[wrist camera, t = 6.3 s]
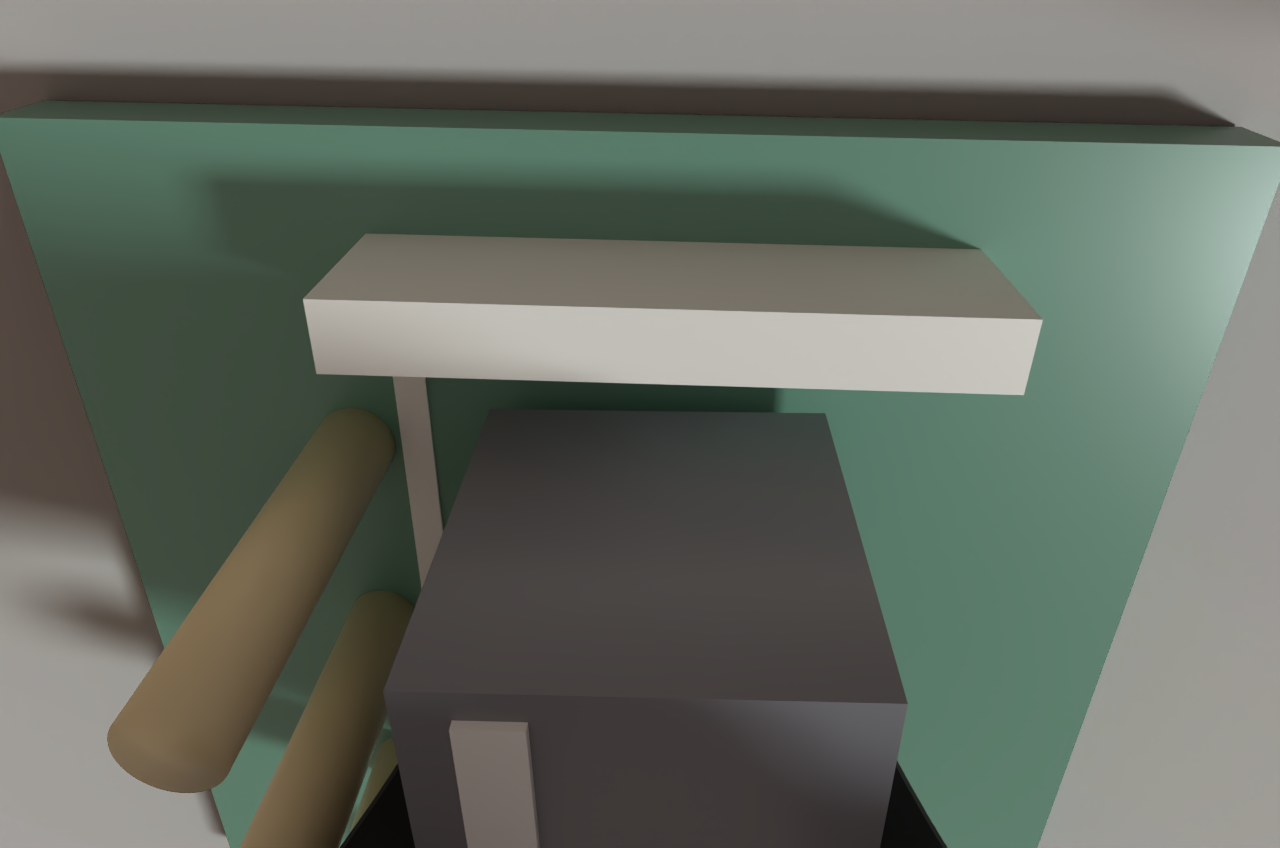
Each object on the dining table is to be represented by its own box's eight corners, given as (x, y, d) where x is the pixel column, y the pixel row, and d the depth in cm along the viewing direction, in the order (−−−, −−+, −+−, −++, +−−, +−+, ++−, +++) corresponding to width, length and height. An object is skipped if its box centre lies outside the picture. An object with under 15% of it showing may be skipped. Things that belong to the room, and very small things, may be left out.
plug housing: (825, 413, 11) (911, 714, 7) (782, 803, 14) (823, 1153, 10) (489, 408, 11) (379, 700, 7) (529, 796, 14) (471, 1139, 10)
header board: (1241, 126, 10) (1801, 349, 5) (990, 880, 17) (1123, 1297, 12) (44, 100, 11) (-550, 282, 6) (267, 848, 18) (96, 1239, 13)
